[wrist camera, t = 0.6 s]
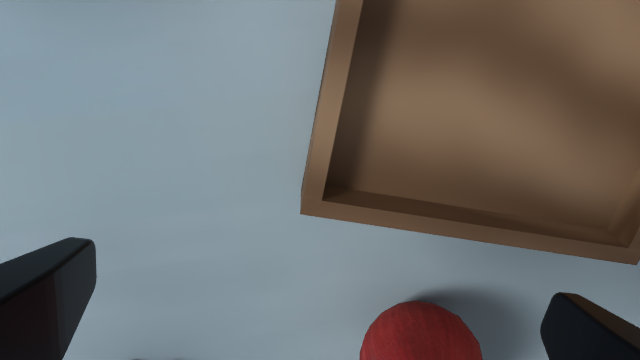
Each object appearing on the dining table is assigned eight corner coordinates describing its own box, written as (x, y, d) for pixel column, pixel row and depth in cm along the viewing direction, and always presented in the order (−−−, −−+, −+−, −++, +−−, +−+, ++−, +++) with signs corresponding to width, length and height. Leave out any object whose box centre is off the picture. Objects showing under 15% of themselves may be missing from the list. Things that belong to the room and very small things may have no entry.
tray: (605, 237, 24) (636, 265, 22) (301, 189, 22) (300, 214, 20) (769, -90, 18) (836, -99, 16) (370, -184, 16) (380, -210, 14)
